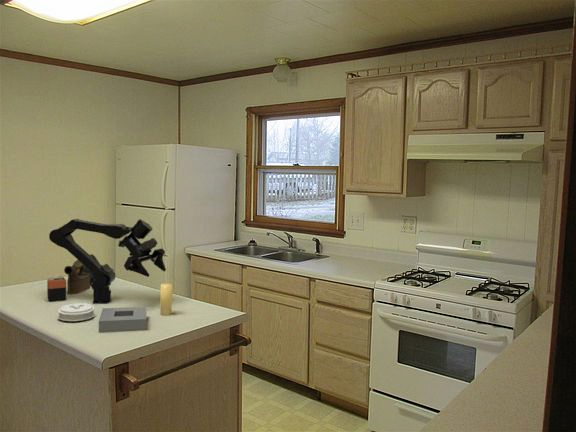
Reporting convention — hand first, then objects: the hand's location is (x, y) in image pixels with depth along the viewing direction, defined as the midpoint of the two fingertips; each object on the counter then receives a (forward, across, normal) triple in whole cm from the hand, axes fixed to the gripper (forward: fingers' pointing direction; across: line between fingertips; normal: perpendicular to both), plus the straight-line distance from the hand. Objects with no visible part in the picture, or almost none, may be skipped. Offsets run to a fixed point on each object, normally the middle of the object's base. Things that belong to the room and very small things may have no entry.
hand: (157, 273), depth 201 cm
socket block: (+12, -23, +7) cm, 27 cm away
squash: (-36, +9, +48) cm, 61 cm away
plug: (+16, -5, +6) cm, 18 cm away
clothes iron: (-29, -4, +42) cm, 51 cm away
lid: (-3, -29, +19) cm, 34 cm away
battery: (-24, -18, +36) cm, 47 cm away
